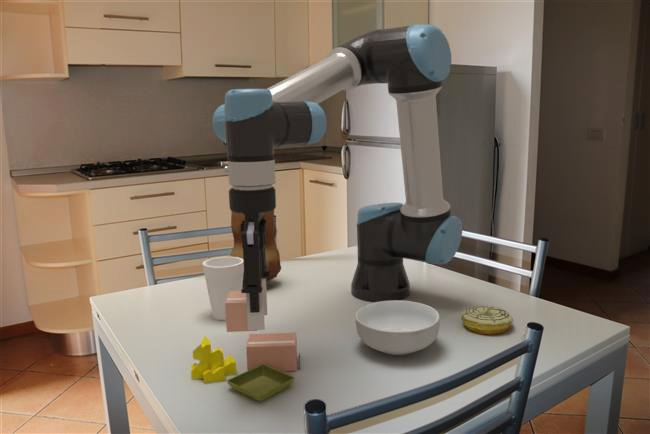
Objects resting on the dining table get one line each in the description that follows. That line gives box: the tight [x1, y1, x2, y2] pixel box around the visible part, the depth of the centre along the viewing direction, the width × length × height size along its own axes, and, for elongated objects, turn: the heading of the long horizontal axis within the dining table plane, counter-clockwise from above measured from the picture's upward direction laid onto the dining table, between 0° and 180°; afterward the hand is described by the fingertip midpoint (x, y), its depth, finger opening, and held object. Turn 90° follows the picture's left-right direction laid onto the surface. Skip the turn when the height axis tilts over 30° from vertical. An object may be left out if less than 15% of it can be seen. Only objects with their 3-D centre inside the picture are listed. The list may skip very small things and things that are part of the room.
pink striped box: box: [245, 332, 301, 372], centre depth 108 cm, size 10×6×5 cm, turn 92°
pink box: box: [225, 291, 258, 333], centre depth 96 cm, size 5×6×5 cm
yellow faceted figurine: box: [190, 335, 237, 384], centre depth 104 cm, size 6×8×8 cm
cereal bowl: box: [354, 299, 441, 356], centre depth 114 cm, size 17×17×7 cm
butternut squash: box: [229, 209, 282, 285], centre depth 154 cm, size 14×13×25 cm
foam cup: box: [202, 256, 244, 321], centre depth 133 cm, size 10×9×13 cm
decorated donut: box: [461, 305, 514, 336], centre depth 124 cm, size 10×11×4 cm
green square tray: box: [226, 364, 296, 402], centre depth 99 cm, size 9×9×2 cm
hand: (257, 321), depth 97 cm, fingers closed on pink box, 6 cm apart
